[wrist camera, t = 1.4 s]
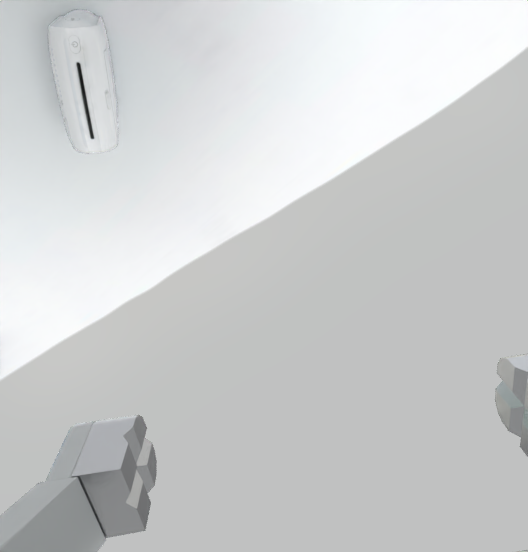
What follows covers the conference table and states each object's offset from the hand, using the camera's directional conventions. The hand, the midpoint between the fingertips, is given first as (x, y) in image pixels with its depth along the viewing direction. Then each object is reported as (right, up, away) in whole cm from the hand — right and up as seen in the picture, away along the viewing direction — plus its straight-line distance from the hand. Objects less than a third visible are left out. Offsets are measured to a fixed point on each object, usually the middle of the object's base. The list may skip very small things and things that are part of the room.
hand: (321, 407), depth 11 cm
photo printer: (-18, +23, +34) cm, 45 cm away
